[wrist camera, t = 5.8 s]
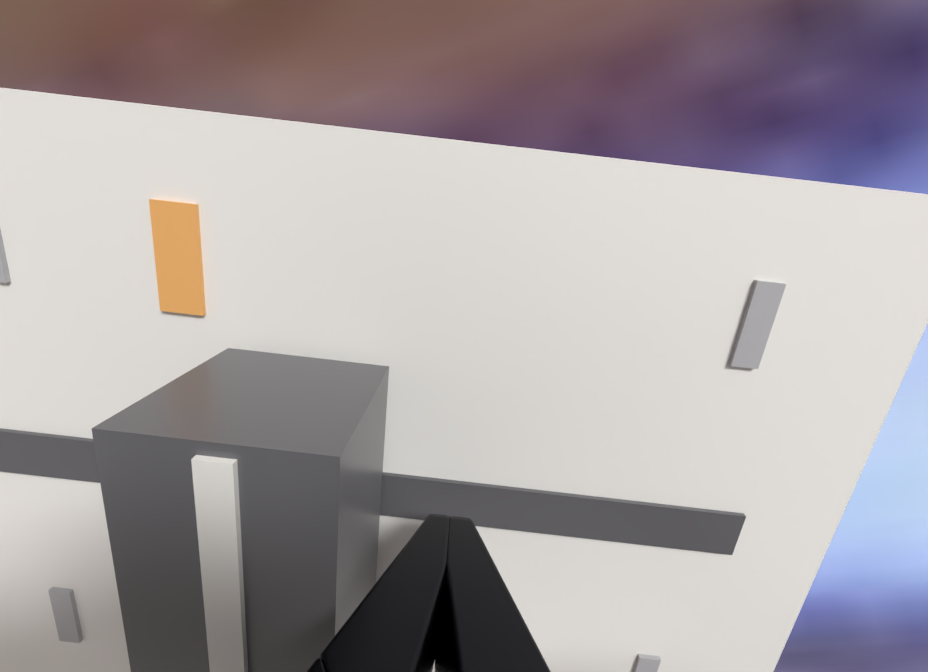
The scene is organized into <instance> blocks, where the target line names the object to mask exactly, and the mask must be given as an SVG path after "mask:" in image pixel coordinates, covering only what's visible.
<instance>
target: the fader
mask: <svg viewBox="0 0 928 672" xmlns="http://www.w3.org/2000/svg"><path fill="white" fill-rule="evenodd" d="M388 377H389V366H382V365H373V364H364V363H355V362H347V361H338V360H329V359H320V358H312V357H303V356H294V355H286V354H277V353H268V352H259V351H251V350H242V349H233V348H227V349H226V350H224V351H222V352H220V353H219V354H217V355H215V356H214V357H212V358H210V359H209V360H207V361H205V362H203V363H202V364H200V365H198V366H197V367H195V368H193V369H192V370H190V371H188V372H186V373H185V374H183V375H181V376H180V377H178V378H176V379H175V380H173V381H171V382H169V383H168V384H166V385H164V386H163V387H161V388H159V389H158V390H156V391H154V392H152V393H151V394H149V395H147V396H146V397H144V398H142V399H141V400H139V401H137V402H135V403H134V404H132V405H130V406H129V407H127V408H125V409H124V410H122V411H120V412H118V413H117V414H115V415H113V416H112V417H110V418H108V419H107V420H105V421H103V422H101V423H100V424H98V425H96V426H95V427H93V428H91V429H92V435H93V441H94V448H95V454H96V460H97V466H98V472H99V478H100V484H101V491H102V497H103V503H104V509H105V515H106V521H107V528H108V534H109V540H110V546H111V552H112V558H113V564H114V571H115V577H116V583H117V589H118V595H119V601H120V608H121V614H122V620H123V626H124V632H125V638H126V644H127V651H128V657H129V663H130V669H131V672H307V671H308V670H309V668H310V667H311V666H312V664H313V663H314V662H315V660H316V659H318V658H320V655H321V653H322V652H323V651H324V649H325V648H326V647H327V645H328V644H329V643H330V642H331V640H332V639H333V638H334V636H335V635H336V634H337V632H338V631H339V630H340V629H341V627H342V626H343V625H344V623H345V622H346V621H347V620H348V618H349V617H350V616H351V614H352V613H353V612H354V611H355V609H356V608H357V607H358V605H359V604H360V603H361V602H362V600H363V599H364V598H365V596H366V595H367V594H368V593H369V591H370V590H371V589H372V587H373V586H374V585H375V583H376V568H377V552H378V536H379V520H380V504H381V488H382V472H383V457H384V441H385V425H386V409H387V393H388Z"/></svg>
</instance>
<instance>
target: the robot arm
mask: <svg viewBox="0 0 928 672" xmlns="http://www.w3.org/2000/svg"><path fill="white" fill-rule="evenodd" d="M434 661H435V672H551V671H550V669H549V667H548V665H547V664H546V662H545V660H544V658H543V656H542V654H541V652H540V650H539V648H538V646H537V644H536V642H535V640H534V638H533V637H532V635H531V633H530V631H529V629H528V627H527V625H526V623H525V621H524V619H523V617H522V615H521V613H520V611H519V610H518V608H517V606H516V604H515V602H514V600H513V598H512V596H511V594H510V592H509V590H508V588H507V586H506V584H505V583H504V581H503V579H502V577H501V575H500V573H499V571H498V569H497V567H496V565H495V563H494V561H493V559H492V557H491V556H490V554H489V552H488V550H487V548H486V546H485V544H484V542H483V540H482V538H481V536H480V534H479V532H478V530H477V529H476V527H475V525H474V523H473V521H472V520H471V519H470V518H464V517H456V516H452V517H449V516H447V515H439V514H430V515H428V517H427V518H426V519H425V520H424V522H423V523H422V524H421V525H420V527H419V528H418V529H417V531H416V532H415V533H414V534H413V536H412V537H411V538H410V540H409V541H408V542H407V544H406V545H405V546H404V547H403V549H402V550H401V551H400V553H399V554H398V555H397V556H396V558H395V559H394V560H393V562H392V563H391V564H390V565H389V567H388V568H387V569H386V571H385V572H384V573H383V574H382V576H381V577H380V578H379V580H378V581H377V582H376V583H375V585H374V586H373V587H372V589H371V590H370V591H369V593H368V594H367V595H366V596H365V598H364V599H363V600H362V602H361V603H360V604H359V605H358V607H357V608H356V609H355V611H354V612H353V613H352V614H351V616H350V617H349V618H348V620H347V621H346V622H345V623H344V625H343V626H342V627H341V629H340V630H339V631H338V632H337V634H336V635H335V636H334V638H333V639H332V640H331V642H330V643H329V644H328V645H327V647H326V648H325V649H324V651H323V652H322V653H321V655H320V658H318V659H316V660H315V662H314V663H313V664H312V666H311V667H310V668H309V670H308V671H307V672H432V671H433V666H434Z"/></svg>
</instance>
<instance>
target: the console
mask: <svg viewBox="0 0 928 672" xmlns="http://www.w3.org/2000/svg"><path fill="white" fill-rule="evenodd" d="M927 323H928V194H920V193H911V192H903V191H894V190H885V189H877V188H868V187H859V186H851V185H842V184H833V183H825V182H816V181H807V180H799V179H790V178H781V177H772V176H764V175H755V174H746V173H738V172H729V171H720V170H712V169H703V168H694V167H686V166H677V165H668V164H659V163H651V162H642V161H633V160H625V159H616V158H607V157H599V156H590V155H581V154H573V153H564V152H555V151H547V150H538V149H529V148H520V147H512V146H503V145H494V144H486V143H477V142H468V141H460V140H451V139H442V138H434V137H425V136H416V135H408V134H399V133H390V132H381V131H373V130H364V129H355V128H347V127H338V126H329V125H321V124H312V123H303V122H295V121H286V120H277V119H269V118H260V117H251V116H242V115H234V114H225V113H216V112H208V111H199V110H190V109H182V108H173V107H164V106H156V105H147V104H138V103H129V102H121V101H112V100H103V99H95V98H86V97H77V96H69V95H60V94H51V93H43V92H34V91H25V90H17V89H8V88H0V672H131V669H130V663H129V657H128V651H127V644H126V638H125V632H124V626H123V620H122V614H121V608H120V601H119V595H118V589H117V583H116V577H115V571H114V564H113V558H112V552H111V546H110V540H109V534H108V528H107V521H106V515H105V509H104V503H103V497H102V491H101V484H100V478H99V472H98V466H97V460H96V454H95V448H94V441H93V435H92V429H91V428H93V427H95V426H96V425H98V424H100V423H101V422H103V421H105V420H107V419H108V418H110V417H112V416H113V415H115V414H117V413H118V412H120V411H122V410H124V409H125V408H127V407H129V406H130V405H132V404H134V403H135V402H137V401H139V400H141V399H142V398H144V397H146V396H147V395H149V394H151V393H152V392H154V391H156V390H158V389H159V388H161V387H163V386H164V385H166V384H168V383H169V382H171V381H173V380H175V379H176V378H178V377H180V376H181V375H183V374H185V373H186V372H188V371H190V370H192V369H193V368H195V367H197V366H198V365H200V364H202V363H203V362H205V361H207V360H209V359H210V358H212V357H214V356H215V355H217V354H219V353H220V352H222V351H224V350H226V349H227V348H233V349H242V350H251V351H259V352H268V353H277V354H286V355H294V356H303V357H312V358H320V359H329V360H338V361H347V362H355V363H364V364H373V365H382V366H389V377H388V393H387V409H386V425H385V441H384V457H383V472H382V488H381V504H380V520H379V536H378V552H377V568H376V582H377V581H378V580H379V578H380V577H381V576H382V574H383V573H384V572H385V571H386V569H387V568H388V567H389V565H390V564H391V563H392V562H393V560H394V559H395V558H396V556H397V555H398V554H399V553H400V551H401V550H402V549H403V547H404V546H405V545H406V544H407V542H408V541H409V540H410V538H411V537H412V536H413V534H414V533H415V532H416V531H417V529H418V528H419V527H420V525H421V524H422V523H423V522H424V520H425V519H426V518H427V517H428V515H430V514H439V515H447V516H449V517H452V516H456V517H464V518H470V519H471V520H472V521H473V523H474V525H475V527H476V529H477V530H478V532H479V534H480V536H481V538H482V540H483V542H484V544H485V546H486V548H487V550H488V552H489V554H490V556H491V557H492V559H493V561H494V563H495V565H496V567H497V569H498V571H499V573H500V575H501V577H502V579H503V581H504V583H505V584H506V586H507V588H508V590H509V592H510V594H511V596H512V598H513V600H514V602H515V604H516V606H517V608H518V610H519V611H520V613H521V615H522V617H523V619H524V621H525V623H526V625H527V627H528V629H529V631H530V633H531V635H532V637H533V638H534V640H535V642H536V644H537V646H538V648H539V650H540V652H541V654H542V656H543V658H544V660H545V662H546V664H547V665H548V667H549V669H550V671H551V672H773V671H774V669H775V666H776V664H777V662H778V660H779V657H780V655H781V653H782V651H783V648H784V646H785V644H786V642H787V639H788V637H789V635H790V633H791V630H792V628H793V626H794V623H795V621H796V619H797V617H798V614H799V612H800V610H801V608H802V605H803V603H804V601H805V599H806V596H807V594H808V592H809V590H810V587H811V585H812V583H813V581H814V578H815V576H816V574H817V572H818V569H819V567H820V565H821V563H822V560H823V558H824V556H825V553H826V551H827V549H828V547H829V544H830V542H831V540H832V538H833V535H834V533H835V531H836V529H837V526H838V524H839V522H840V520H841V517H842V515H843V513H844V511H845V508H846V506H847V504H848V502H849V499H850V497H851V495H852V492H853V490H854V488H855V486H856V483H857V481H858V479H859V477H860V474H861V472H862V470H863V468H864V465H865V463H866V461H867V459H868V456H869V454H870V452H871V450H872V447H873V445H874V443H875V441H876V438H877V436H878V434H879V431H880V429H881V427H882V425H883V422H884V420H885V418H886V416H887V413H888V411H889V409H890V407H891V404H892V402H893V400H894V398H895V395H896V393H897V391H898V389H899V386H900V384H901V382H902V380H903V377H904V375H905V373H906V371H907V368H908V366H909V364H910V361H911V359H912V357H913V355H914V352H915V350H916V348H917V346H918V343H919V341H920V339H921V337H922V334H923V332H924V330H925V328H926V325H927ZM432 672H435V661H434V666H433V671H432Z"/></svg>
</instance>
